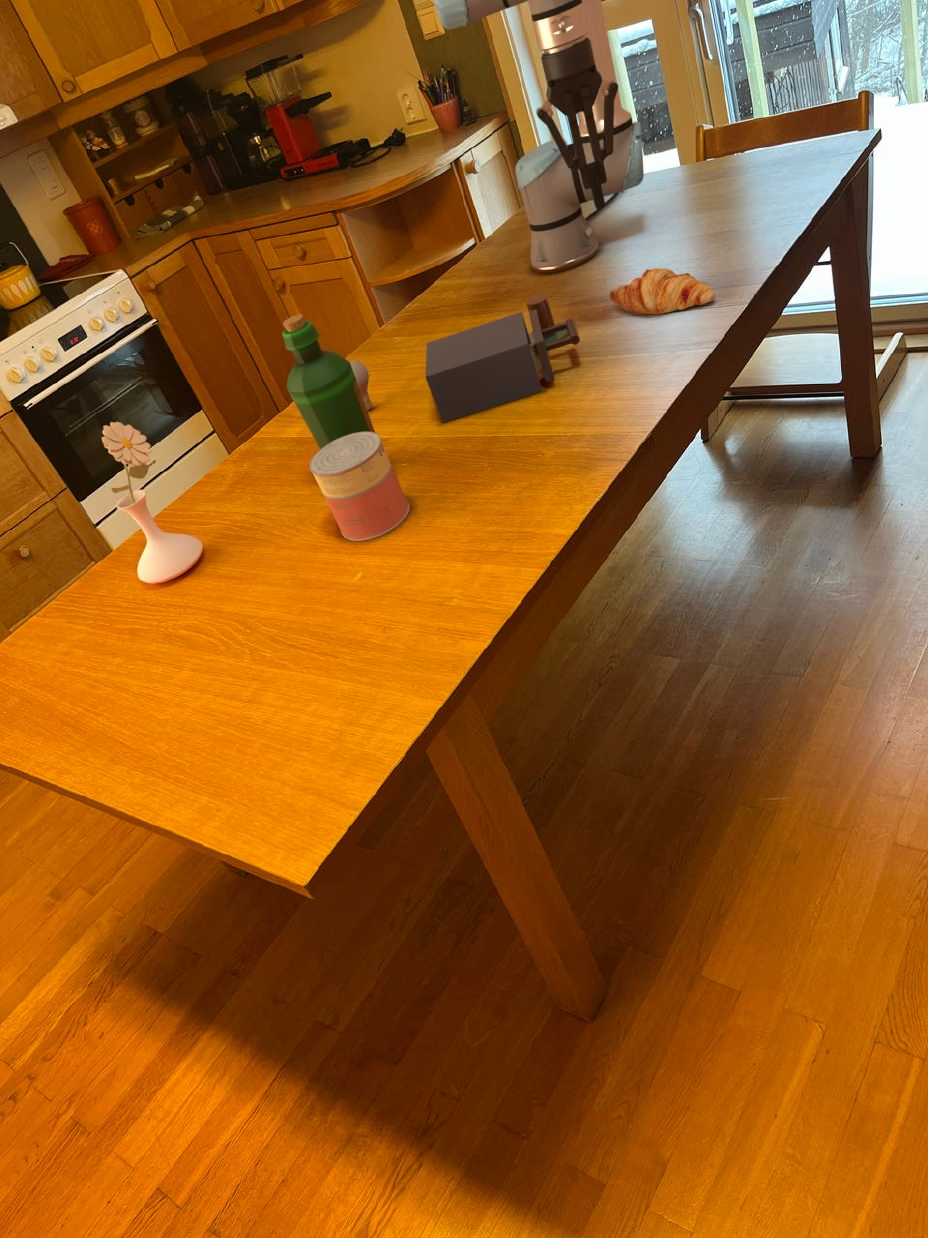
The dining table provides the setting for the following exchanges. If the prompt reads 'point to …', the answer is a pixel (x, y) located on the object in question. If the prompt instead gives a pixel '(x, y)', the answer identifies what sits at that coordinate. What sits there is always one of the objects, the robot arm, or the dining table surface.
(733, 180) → the dining table surface
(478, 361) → the cabinet
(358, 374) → the light bulb
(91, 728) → the dining table surface
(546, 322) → the lid
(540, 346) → the drawer
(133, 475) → the flower in vase
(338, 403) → the bottle
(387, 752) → the dining table surface
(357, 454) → the canned food
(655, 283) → the croissant
